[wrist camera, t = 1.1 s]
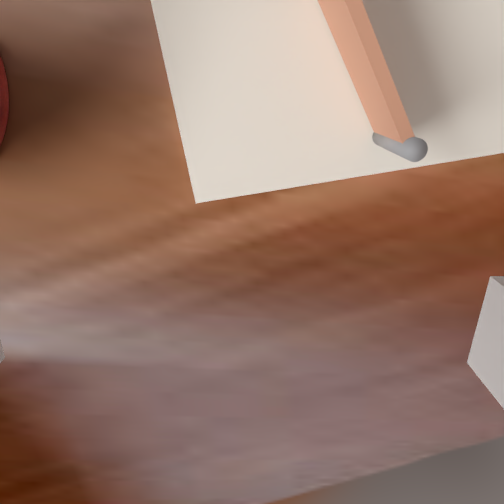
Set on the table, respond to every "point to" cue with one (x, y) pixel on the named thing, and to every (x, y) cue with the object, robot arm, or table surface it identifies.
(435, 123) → the board
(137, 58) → the table surface
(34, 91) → the table surface
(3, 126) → the stacking bear
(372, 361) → the table surface
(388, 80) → the fence panel
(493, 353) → the robot arm
